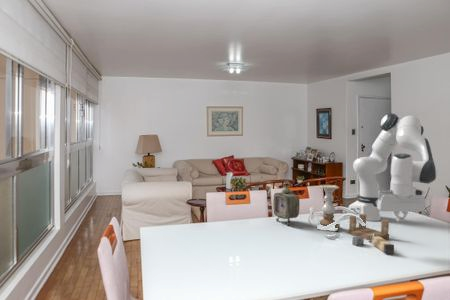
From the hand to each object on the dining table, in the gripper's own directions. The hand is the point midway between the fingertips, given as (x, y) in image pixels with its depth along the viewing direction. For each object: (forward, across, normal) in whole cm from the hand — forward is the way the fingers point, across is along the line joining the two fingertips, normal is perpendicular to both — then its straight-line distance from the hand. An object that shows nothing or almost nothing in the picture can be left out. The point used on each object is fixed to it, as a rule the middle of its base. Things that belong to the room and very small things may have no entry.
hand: (400, 221), depth 147 cm
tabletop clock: (+14, -41, +48) cm, 65 cm away
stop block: (+14, -14, +10) cm, 23 cm away
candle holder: (+14, -20, +37) cm, 44 cm away
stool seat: (+14, -3, +23) cm, 27 cm away
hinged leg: (+14, -6, +5) cm, 16 cm away
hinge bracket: (+14, -6, +13) cm, 20 cm away
